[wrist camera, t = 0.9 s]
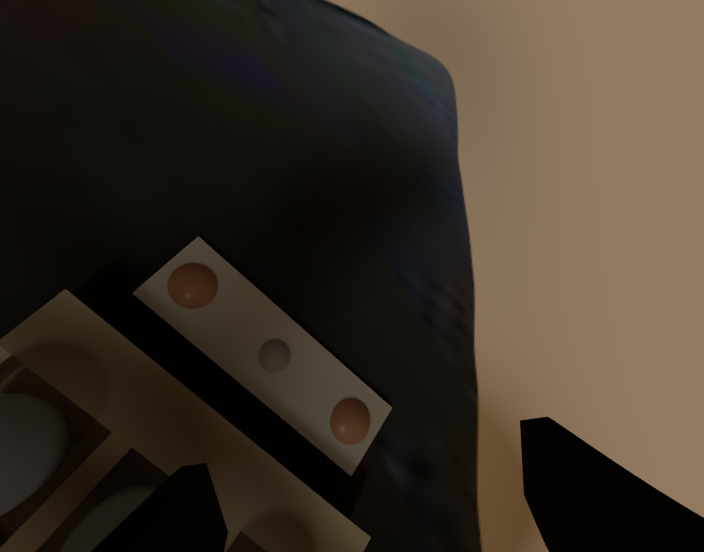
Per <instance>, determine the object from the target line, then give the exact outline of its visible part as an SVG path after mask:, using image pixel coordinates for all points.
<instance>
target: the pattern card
mask: <svg viewBox="0 0 704 552" xmlns="http://www.w3.org/2000/svg"><path fill="white" fill-rule="evenodd" d="M132 294H133V295H134V296H136V297H137V298H138V299H139V300H140V301H142V302H143V303H144V304H145V305H146V306H147V307H149V308H150V309H151V310H152V311H153V312H155V313H156V314H157V315H158V316H159V317H161V318H162V319H163V320H164V321H165V322H167V323H168V324H169V325H170V326H171V327H173V328H174V329H175V330H176V331H177V332H179V333H180V334H181V335H182V336H183V337H185V338H186V339H187V340H188V341H189V342H191V343H192V344H193V345H194V346H195V347H197V348H198V349H199V350H200V351H201V352H203V353H204V354H205V355H206V356H207V357H209V358H210V359H211V360H212V361H213V362H215V363H216V364H217V365H218V366H219V367H220V368H222V369H223V370H224V371H225V372H226V373H228V374H229V375H230V376H231V377H232V378H234V379H235V380H236V381H237V382H238V383H240V384H241V385H242V386H243V387H244V388H246V389H247V390H248V391H249V392H250V393H252V394H253V395H254V396H255V397H256V398H258V399H259V400H260V401H261V402H262V403H264V404H265V405H266V406H267V407H268V408H270V409H271V410H272V411H273V412H274V413H276V414H277V415H278V416H279V417H280V418H282V419H283V420H284V421H285V422H286V423H287V424H289V425H290V426H291V427H292V428H293V429H295V430H296V431H297V432H298V433H299V434H301V435H302V436H303V437H304V438H305V439H307V440H308V441H309V442H310V443H311V444H313V445H314V446H315V447H316V448H317V449H319V450H320V451H321V452H322V453H323V454H325V455H326V456H327V457H328V458H329V459H331V460H332V461H333V462H334V463H335V464H337V465H338V466H339V467H340V468H341V469H343V470H344V471H345V472H346V473H347V474H349V475H350V476H352V474H353V472H354V471H355V469H356V467H357V466H358V464H359V462H360V461H361V459H362V457H363V456H364V454H365V452H366V451H367V449H368V447H369V446H370V444H371V442H372V441H373V439H374V437H375V436H376V434H377V432H378V431H379V429H380V427H381V426H382V424H383V422H384V421H385V419H386V417H387V416H388V414H389V412H390V411H391V409H392V407H391V406H390V405H388V404H387V403H386V402H385V401H384V400H383V399H382V398H381V397H379V396H378V395H377V394H376V393H375V392H374V391H373V390H372V389H370V388H369V387H368V386H367V385H366V384H365V383H364V382H362V381H361V380H360V379H359V378H358V377H357V376H356V375H355V374H353V373H352V372H351V371H350V370H349V369H348V368H347V367H346V366H344V365H343V364H342V363H341V362H340V361H339V360H338V359H336V358H335V357H334V356H333V355H332V354H331V353H330V352H329V351H327V350H326V349H325V348H324V347H323V346H322V345H321V344H320V343H318V342H317V341H316V340H315V339H314V338H313V337H312V336H310V335H309V334H308V333H307V332H306V331H305V330H304V329H303V328H301V327H300V326H299V325H298V324H297V323H296V322H295V321H294V320H292V319H291V318H290V317H289V316H288V315H287V314H286V313H285V312H283V311H282V310H281V309H280V308H279V307H278V306H277V305H275V304H274V303H273V302H272V301H271V300H270V299H269V298H268V297H266V296H265V295H264V294H263V293H262V292H261V291H260V290H259V289H257V288H256V287H255V286H254V285H253V284H252V283H251V282H249V281H248V280H247V279H246V278H245V277H244V276H243V275H242V274H240V273H239V272H238V271H237V270H236V269H235V268H234V267H233V266H231V265H230V264H229V263H228V262H227V261H226V260H225V259H224V258H222V257H221V256H220V255H219V254H218V253H217V252H216V251H214V250H213V249H212V248H211V247H210V246H209V245H208V244H207V243H205V242H204V241H203V240H202V239H201V238H200V237H199V236H198V237H197V238H196V239H195V240H194V241H192V242H191V243H190V244H189V245H188V246H187V247H185V248H184V249H183V250H182V251H181V252H180V253H178V254H177V255H176V256H175V257H174V258H173V259H171V260H170V261H169V262H168V263H167V264H166V265H164V266H163V267H162V268H161V269H160V270H159V271H157V272H156V273H155V274H154V275H153V276H152V277H150V278H149V279H148V280H147V281H146V282H145V283H143V284H142V285H141V286H140V287H139V288H138V289H136V290H135V291H134V292H133V293H132Z"/></svg>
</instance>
